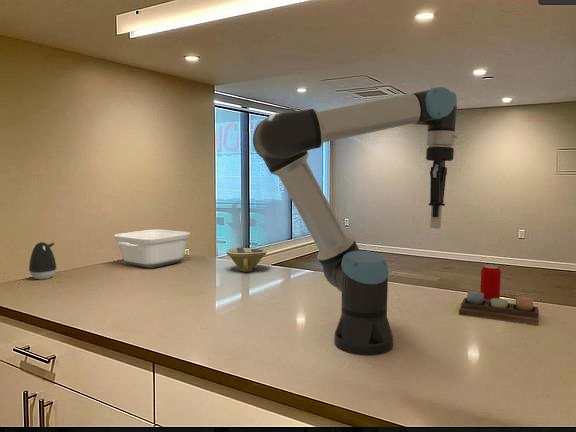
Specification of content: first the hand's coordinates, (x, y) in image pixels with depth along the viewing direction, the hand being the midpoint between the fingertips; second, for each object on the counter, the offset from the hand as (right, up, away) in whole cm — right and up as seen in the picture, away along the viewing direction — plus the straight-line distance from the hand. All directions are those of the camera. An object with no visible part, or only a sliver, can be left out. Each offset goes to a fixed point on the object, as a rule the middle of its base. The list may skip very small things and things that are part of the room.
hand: (435, 227), depth 136 cm
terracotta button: (+29, -25, +6) cm, 39 cm away
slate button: (+17, -24, +12) cm, 32 cm away
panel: (+23, -27, +9) cm, 37 cm away
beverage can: (+27, -26, +25) cm, 45 cm away
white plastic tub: (-108, -20, +88) cm, 141 cm away
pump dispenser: (-146, -23, +59) cm, 159 cm away
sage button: (+23, -26, +9) cm, 36 cm away
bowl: (-62, -21, +73) cm, 98 cm away
